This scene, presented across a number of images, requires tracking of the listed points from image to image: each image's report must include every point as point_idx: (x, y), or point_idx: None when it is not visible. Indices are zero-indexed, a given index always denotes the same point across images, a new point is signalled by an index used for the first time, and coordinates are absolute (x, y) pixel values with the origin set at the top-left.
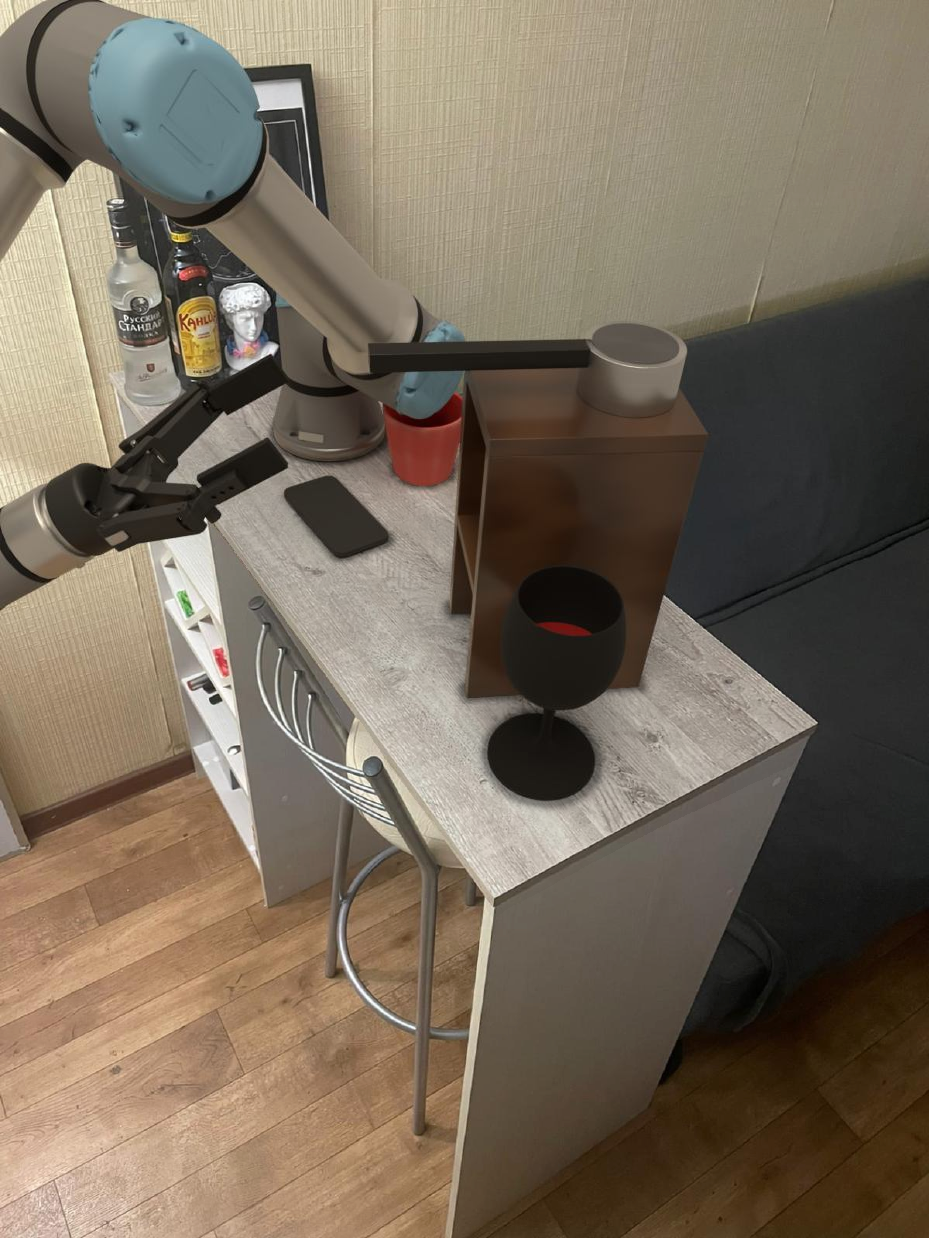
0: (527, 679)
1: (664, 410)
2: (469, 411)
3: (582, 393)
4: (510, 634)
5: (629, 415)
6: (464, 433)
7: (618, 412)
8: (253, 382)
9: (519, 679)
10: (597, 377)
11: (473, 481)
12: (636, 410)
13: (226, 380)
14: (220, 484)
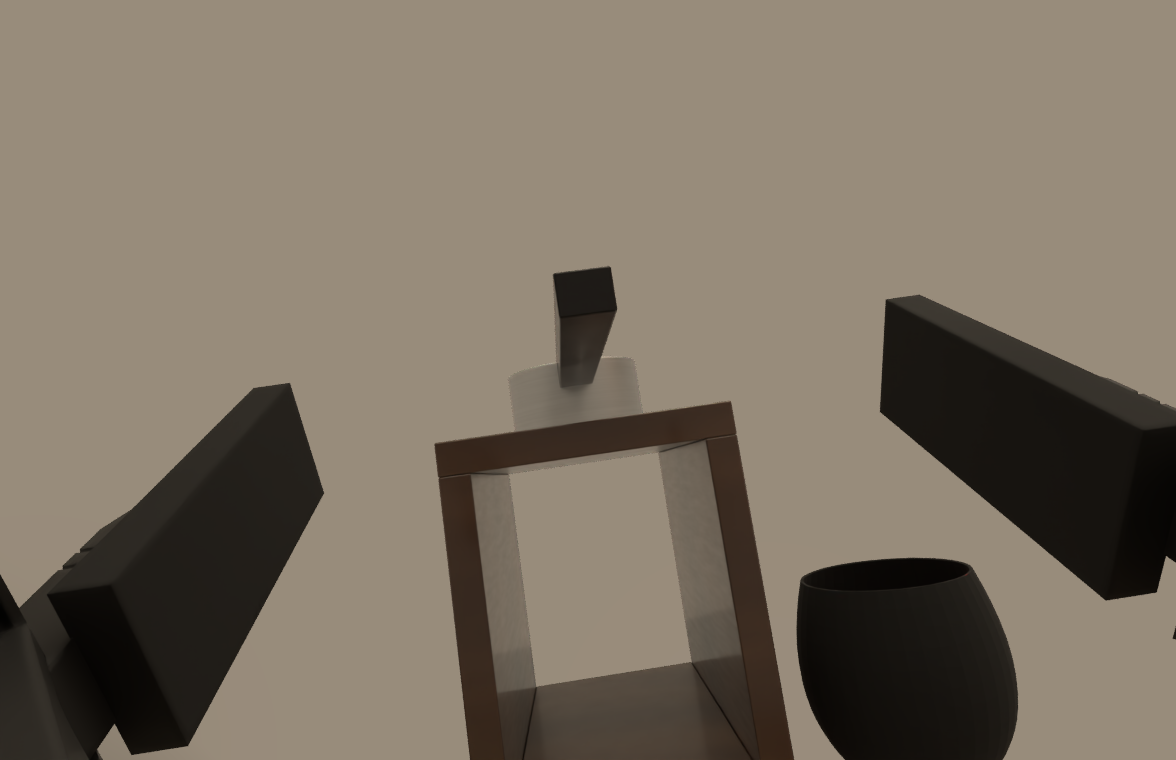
0: (1013, 682)
1: None
2: (480, 540)
3: None
4: (963, 639)
5: None
6: (484, 594)
7: None
8: (260, 498)
9: (1010, 701)
10: (613, 384)
11: (503, 710)
12: None
13: (160, 504)
14: (1152, 398)
